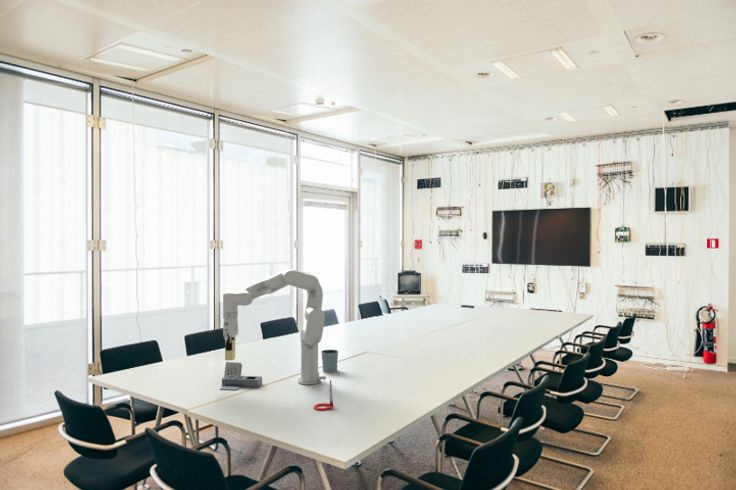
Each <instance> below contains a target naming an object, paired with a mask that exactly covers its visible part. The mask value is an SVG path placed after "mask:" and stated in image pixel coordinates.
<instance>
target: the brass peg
mask: <svg viewBox="0 0 736 490" xmlns="http://www.w3.org/2000/svg"><path fill="white" fill-rule="evenodd" d="M231 343H232V350H231V351H226V350H225V349H224V360H225V361H234V360H236V339H235V340H231Z"/></svg>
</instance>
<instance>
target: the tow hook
mask: <svg viewBox="0 0 736 490" xmlns="http://www.w3.org/2000/svg"><path fill="white" fill-rule="evenodd" d="M323 406H325V407H323ZM313 409H314V410H315V411H327V410H331V411H333V409H334V399H333V384H332V380H329V402H327V403H325V402H322V403H316V404H314V405H313Z"/></svg>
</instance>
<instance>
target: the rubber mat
mask: <svg viewBox="0 0 736 490" xmlns="http://www.w3.org/2000/svg"><path fill="white" fill-rule="evenodd" d="M240 388H241V387H240V386H221V387H220V391H222V390H223V391H238V390H239V389H240Z"/></svg>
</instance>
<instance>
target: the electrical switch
mask: <svg viewBox="0 0 736 490" xmlns="http://www.w3.org/2000/svg"><path fill="white" fill-rule="evenodd" d="M224 366H225V367H224V368H225V369H224V374H223V378H224V377H225V376H227V375H231V376H242V369H243V364H242V363H241V362H236V361H235V362H234V361H226V362H225V365H224Z"/></svg>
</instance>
